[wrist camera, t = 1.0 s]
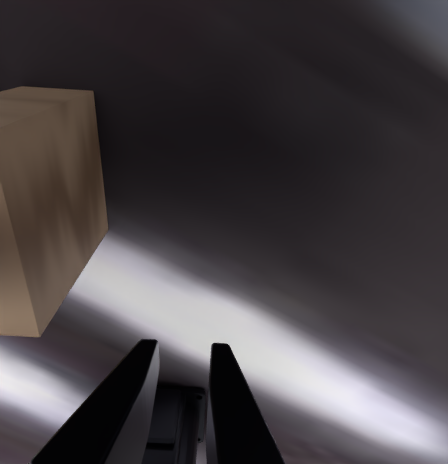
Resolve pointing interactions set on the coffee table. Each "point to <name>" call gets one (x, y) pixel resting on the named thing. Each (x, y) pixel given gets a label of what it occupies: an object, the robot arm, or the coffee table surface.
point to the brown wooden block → (46, 201)
